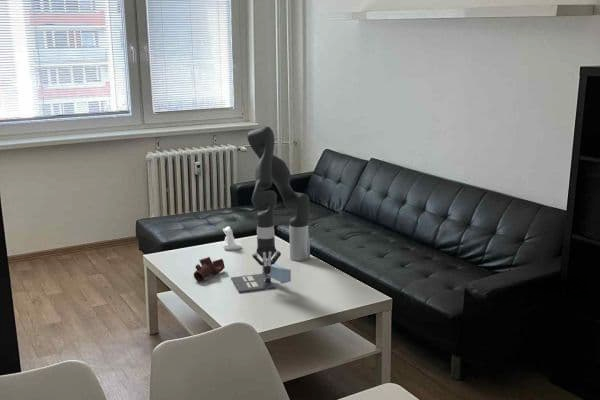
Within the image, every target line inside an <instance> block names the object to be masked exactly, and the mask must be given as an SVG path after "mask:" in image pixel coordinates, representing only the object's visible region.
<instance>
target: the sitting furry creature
mask: <svg viewBox="0 0 600 400" xmlns="http://www.w3.org/2000/svg"><path fill="white" fill-rule="evenodd" d="M222 231H223V233H224V234H225V235H226V236H224V237H225V238H224V241H223V245H222V247H223V249H224V250H226V251H233V250H242V249H243V245H242V244H240V243H237V244H236V242H235V237H234V235H233V234H234V233H233V229H232V228H231V227H230V226H226V227H224V228H222Z"/></svg>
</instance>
